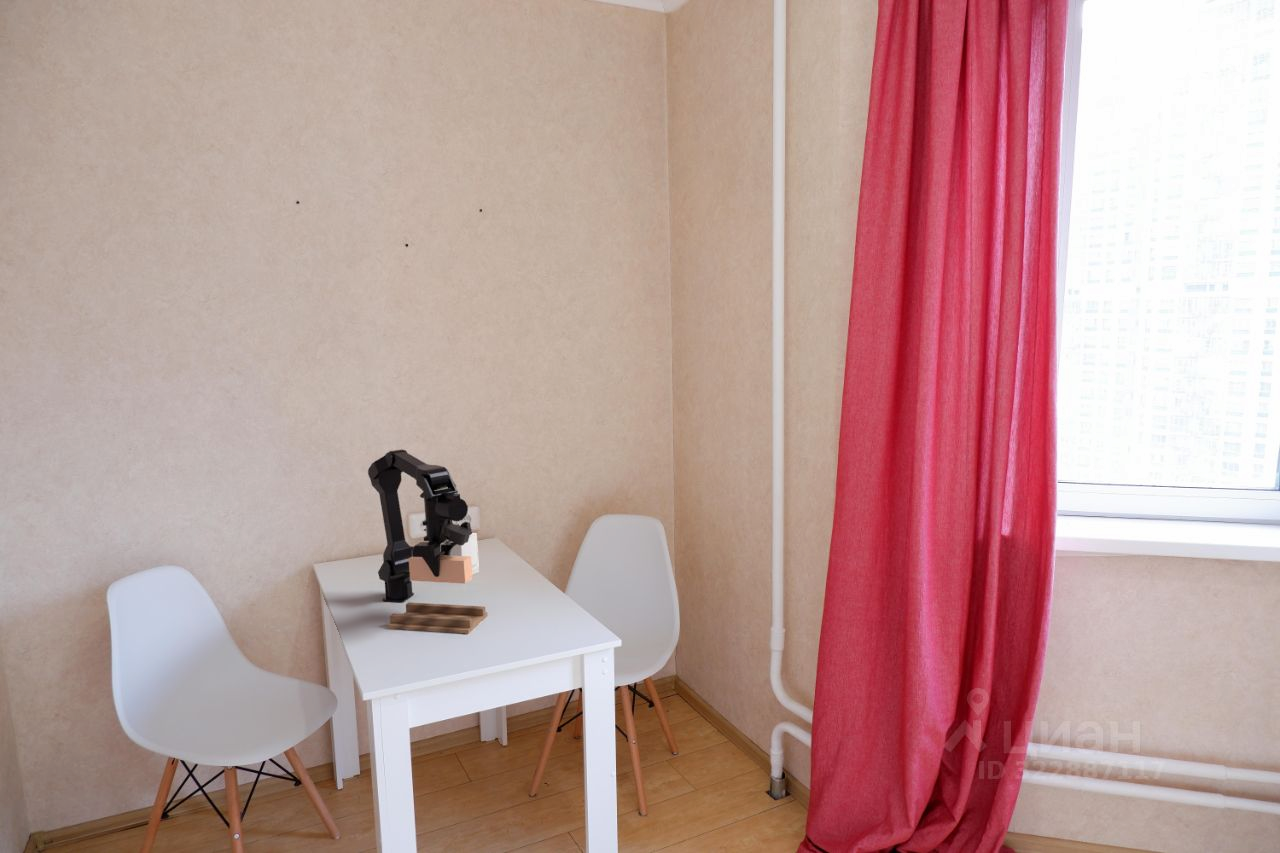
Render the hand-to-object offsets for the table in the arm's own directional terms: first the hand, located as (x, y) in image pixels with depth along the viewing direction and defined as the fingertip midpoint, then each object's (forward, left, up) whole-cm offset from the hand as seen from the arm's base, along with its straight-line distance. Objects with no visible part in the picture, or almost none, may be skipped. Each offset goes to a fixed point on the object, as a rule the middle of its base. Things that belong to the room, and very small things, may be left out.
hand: (440, 573), depth 198 cm
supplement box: (-11, +35, -12) cm, 38 cm away
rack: (0, -3, -12) cm, 12 cm away
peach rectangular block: (0, 0, -2) cm, 2 cm away
